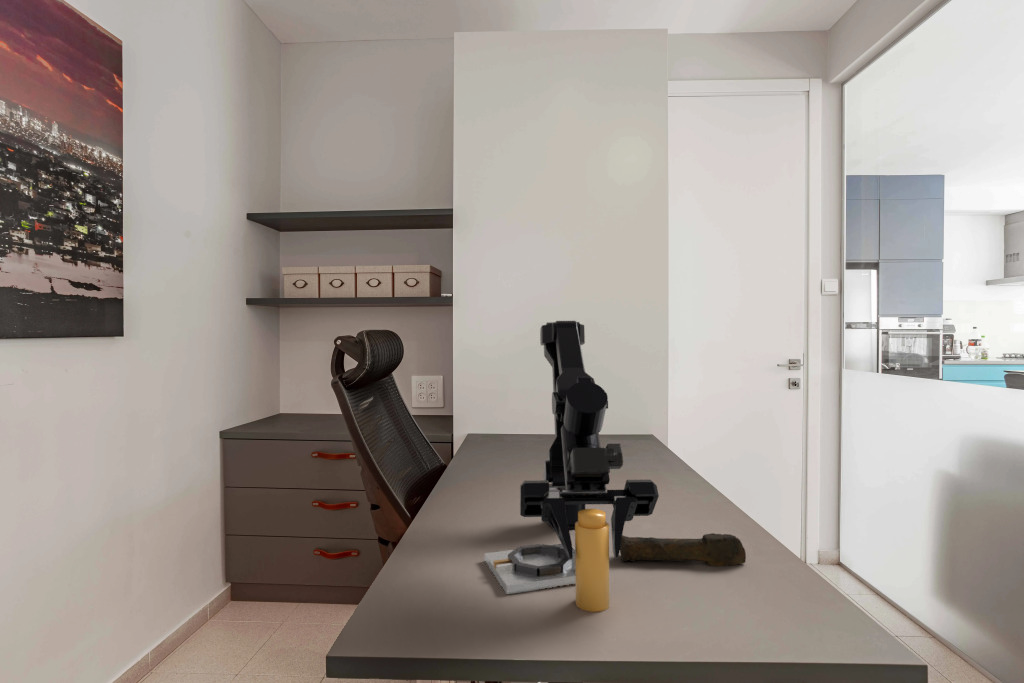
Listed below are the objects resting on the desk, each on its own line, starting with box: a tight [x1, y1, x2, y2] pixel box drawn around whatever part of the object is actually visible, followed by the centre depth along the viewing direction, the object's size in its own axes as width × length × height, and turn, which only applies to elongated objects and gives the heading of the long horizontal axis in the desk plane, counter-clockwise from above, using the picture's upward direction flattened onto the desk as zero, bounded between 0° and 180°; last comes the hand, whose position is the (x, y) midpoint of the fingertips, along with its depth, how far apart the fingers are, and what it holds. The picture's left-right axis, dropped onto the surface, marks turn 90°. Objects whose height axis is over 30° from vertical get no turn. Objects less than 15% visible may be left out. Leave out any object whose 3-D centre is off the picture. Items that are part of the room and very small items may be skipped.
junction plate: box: [484, 543, 576, 595], centre depth 85 cm, size 14×12×2 cm
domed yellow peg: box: [574, 508, 610, 613], centre depth 75 cm, size 4×4×12 cm
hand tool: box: [619, 533, 747, 567], centre depth 88 cm, size 19×4×5 cm, turn 81°
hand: (593, 558), depth 73 cm, fingers open, 6 cm apart
